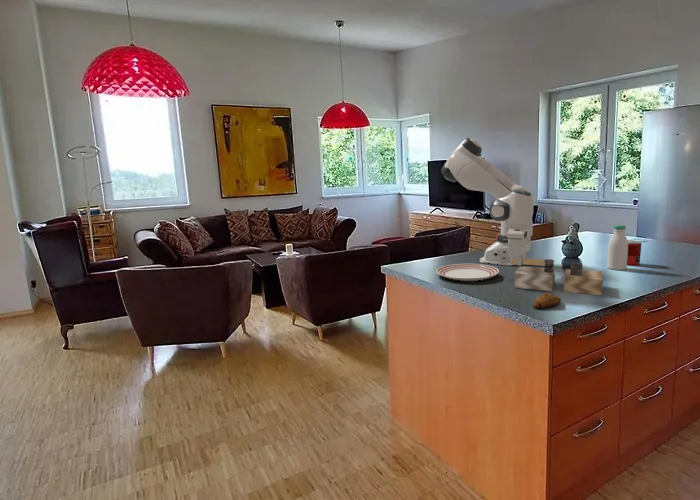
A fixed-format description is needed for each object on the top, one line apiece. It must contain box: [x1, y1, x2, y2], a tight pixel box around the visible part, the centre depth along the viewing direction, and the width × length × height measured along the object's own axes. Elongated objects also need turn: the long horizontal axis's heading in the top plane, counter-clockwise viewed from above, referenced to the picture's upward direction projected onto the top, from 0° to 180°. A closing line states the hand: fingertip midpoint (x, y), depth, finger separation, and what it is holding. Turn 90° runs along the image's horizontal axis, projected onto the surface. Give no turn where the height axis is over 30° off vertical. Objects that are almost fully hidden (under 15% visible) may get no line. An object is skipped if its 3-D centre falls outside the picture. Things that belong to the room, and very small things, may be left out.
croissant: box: [532, 292, 562, 310], centre depth 159 cm, size 14×7×5 cm, turn 121°
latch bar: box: [512, 257, 555, 268], centre depth 185 cm, size 16×4×2 cm, turn 62°
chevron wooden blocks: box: [513, 262, 604, 296], centre depth 181 cm, size 31×14×11 cm, turn 63°
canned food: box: [627, 239, 642, 267], centre depth 215 cm, size 8×8×11 cm
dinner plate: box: [435, 263, 500, 282], centre depth 204 cm, size 27×27×3 cm
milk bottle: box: [606, 224, 628, 271], centre depth 206 cm, size 8×8×20 cm
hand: (519, 264), depth 185 cm, fingers closed
